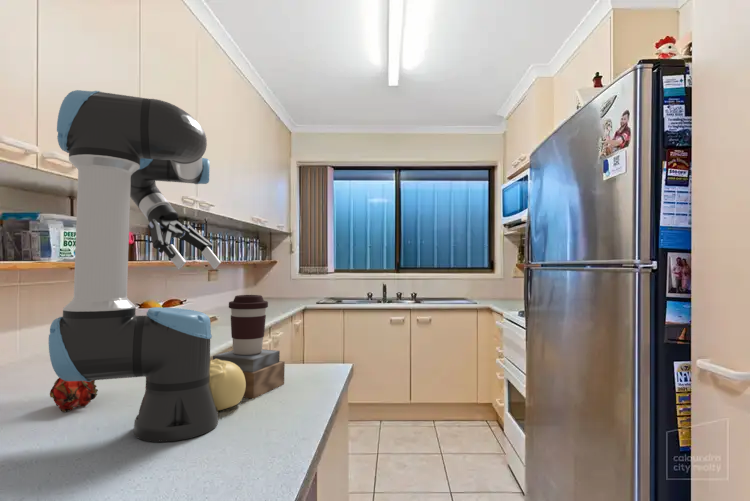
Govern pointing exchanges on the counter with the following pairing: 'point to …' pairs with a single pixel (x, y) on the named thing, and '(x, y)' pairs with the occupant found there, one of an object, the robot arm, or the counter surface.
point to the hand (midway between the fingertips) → (200, 265)
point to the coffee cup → (248, 323)
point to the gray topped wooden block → (258, 370)
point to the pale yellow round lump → (226, 383)
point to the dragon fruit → (72, 393)
